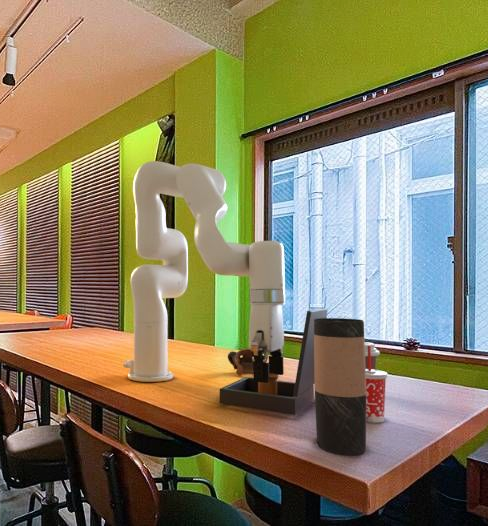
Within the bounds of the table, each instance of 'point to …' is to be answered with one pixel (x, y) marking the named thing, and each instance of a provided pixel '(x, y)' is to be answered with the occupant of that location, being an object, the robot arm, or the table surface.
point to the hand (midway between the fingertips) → (269, 377)
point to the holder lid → (307, 353)
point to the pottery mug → (241, 361)
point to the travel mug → (340, 385)
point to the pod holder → (265, 396)
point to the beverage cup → (375, 392)
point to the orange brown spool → (269, 385)
